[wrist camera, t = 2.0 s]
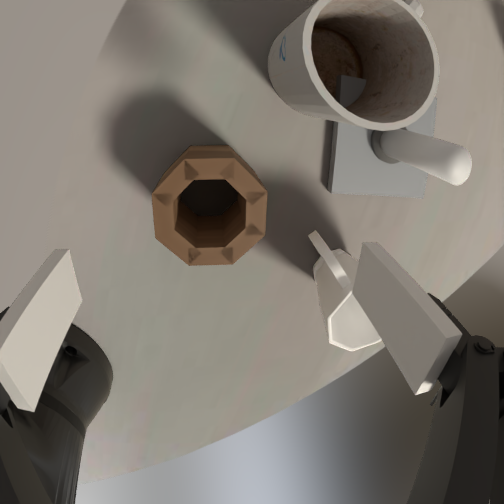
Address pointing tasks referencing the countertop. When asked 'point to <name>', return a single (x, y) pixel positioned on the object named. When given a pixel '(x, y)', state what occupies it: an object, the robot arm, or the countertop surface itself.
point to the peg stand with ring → (390, 154)
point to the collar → (209, 227)
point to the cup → (340, 298)
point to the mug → (357, 62)
